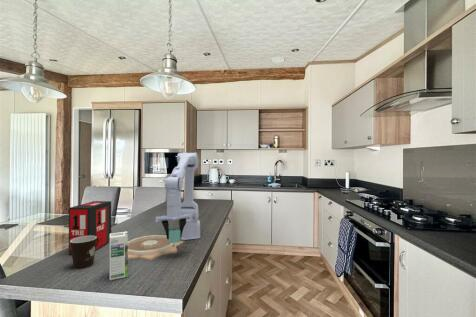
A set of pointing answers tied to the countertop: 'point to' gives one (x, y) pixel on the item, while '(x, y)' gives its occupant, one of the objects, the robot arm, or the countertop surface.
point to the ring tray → (151, 247)
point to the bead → (174, 235)
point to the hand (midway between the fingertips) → (174, 237)
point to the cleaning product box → (91, 222)
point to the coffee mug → (83, 251)
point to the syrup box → (118, 255)
